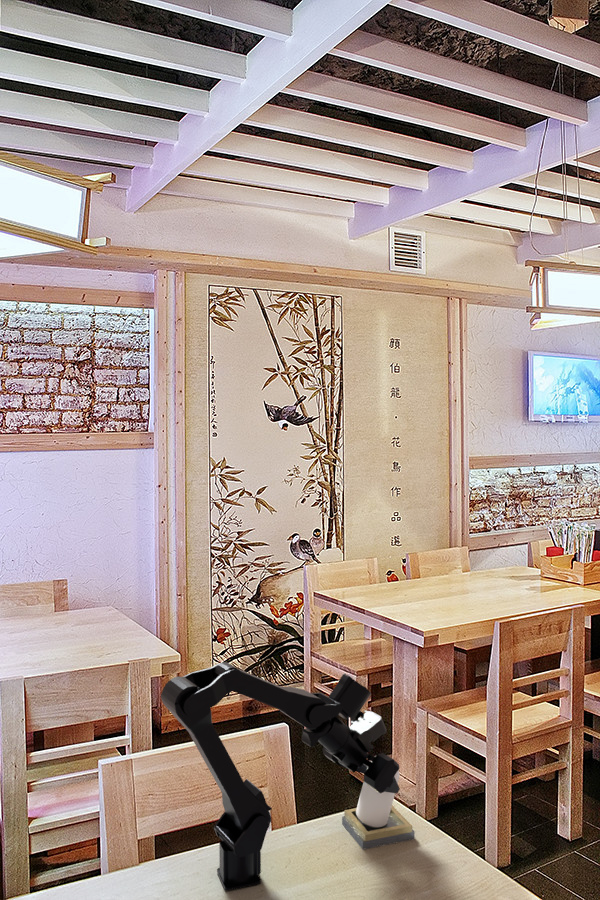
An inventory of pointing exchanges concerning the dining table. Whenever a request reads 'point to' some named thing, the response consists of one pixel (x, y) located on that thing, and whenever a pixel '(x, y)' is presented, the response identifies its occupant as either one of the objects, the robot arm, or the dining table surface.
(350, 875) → the dining table surface
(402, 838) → the gold square coaster
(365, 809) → the can
